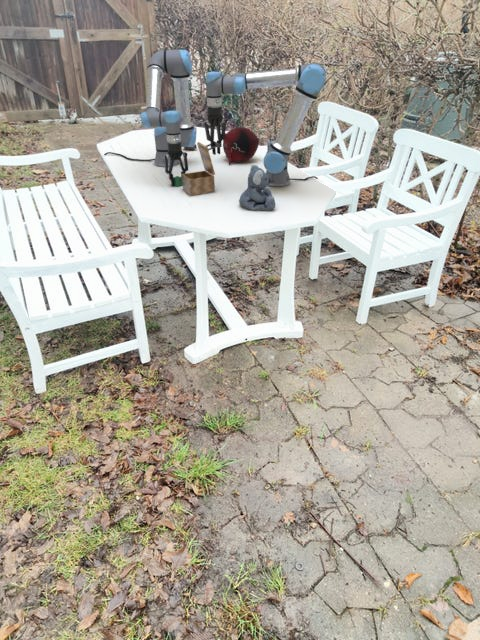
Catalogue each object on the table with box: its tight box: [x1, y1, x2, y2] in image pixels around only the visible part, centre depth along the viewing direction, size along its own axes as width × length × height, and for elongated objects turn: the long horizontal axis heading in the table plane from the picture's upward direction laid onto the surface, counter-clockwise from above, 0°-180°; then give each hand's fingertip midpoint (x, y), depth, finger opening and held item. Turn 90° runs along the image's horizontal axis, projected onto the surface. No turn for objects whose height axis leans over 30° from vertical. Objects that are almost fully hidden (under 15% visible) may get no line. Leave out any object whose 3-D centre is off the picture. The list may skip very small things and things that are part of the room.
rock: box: [183, 143, 198, 151], centre depth 322 cm, size 12×9×10 cm
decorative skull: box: [222, 126, 260, 166], centre depth 295 cm, size 21×24×25 cm
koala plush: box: [238, 164, 276, 211], centre depth 224 cm, size 17×18×20 cm
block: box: [173, 175, 183, 187], centre depth 257 cm, size 4×4×4 cm
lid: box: [196, 140, 221, 176], centre depth 243 cm, size 15×12×9 cm
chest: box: [182, 170, 216, 197], centre depth 247 cm, size 14×12×9 cm
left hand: (177, 184), depth 258 cm, fingers closed on block, 6 cm apart
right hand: (216, 153), depth 243 cm, fingers closed on lid, 2 cm apart
